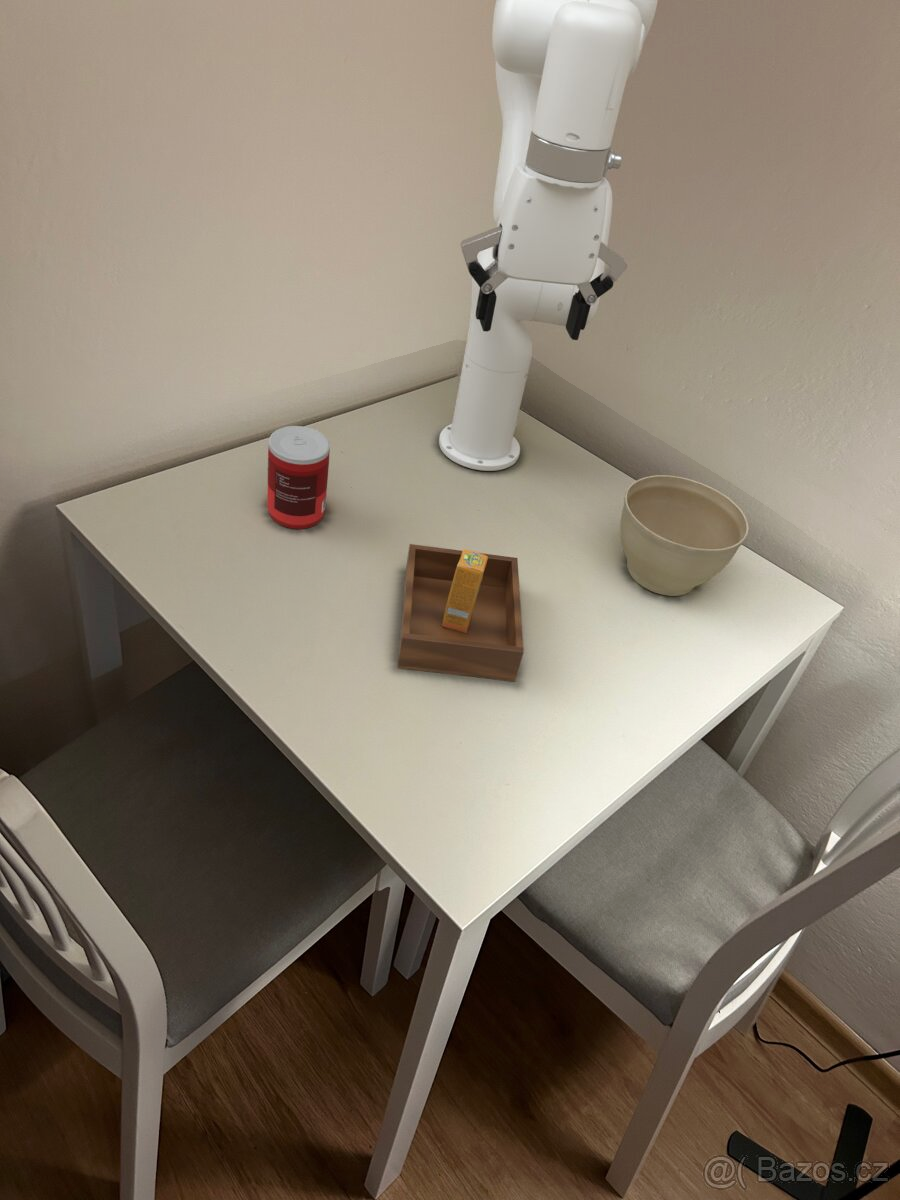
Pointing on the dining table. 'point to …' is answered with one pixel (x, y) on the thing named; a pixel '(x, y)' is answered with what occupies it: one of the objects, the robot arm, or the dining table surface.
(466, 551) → the supplement box
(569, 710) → the dining table surface
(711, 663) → the dining table surface
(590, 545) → the dining table surface
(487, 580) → the wooden tray
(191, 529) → the dining table surface
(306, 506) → the canned food
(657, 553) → the planter bowl
